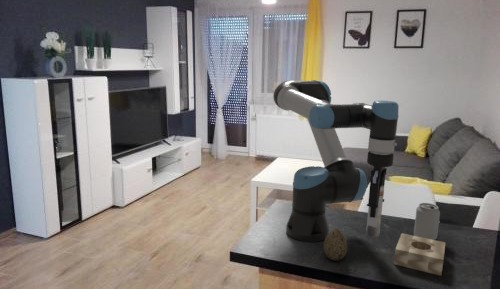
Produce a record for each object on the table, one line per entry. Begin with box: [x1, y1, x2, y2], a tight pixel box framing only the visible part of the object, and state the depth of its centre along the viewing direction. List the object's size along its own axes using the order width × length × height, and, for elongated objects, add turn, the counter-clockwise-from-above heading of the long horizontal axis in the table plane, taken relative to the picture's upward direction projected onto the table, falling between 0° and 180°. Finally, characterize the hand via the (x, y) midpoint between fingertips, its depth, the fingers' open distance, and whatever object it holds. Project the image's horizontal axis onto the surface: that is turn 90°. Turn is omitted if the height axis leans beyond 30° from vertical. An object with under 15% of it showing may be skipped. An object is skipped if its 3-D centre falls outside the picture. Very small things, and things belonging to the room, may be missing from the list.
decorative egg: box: [323, 228, 348, 262], centre depth 119 cm, size 7×7×10 cm
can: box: [413, 202, 441, 240], centre depth 136 cm, size 8×8×12 cm
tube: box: [365, 185, 385, 238], centre depth 123 cm, size 4×4×16 cm
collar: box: [393, 232, 446, 277], centre depth 120 cm, size 13×13×5 cm
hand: (373, 223), depth 124 cm, fingers closed on tube, 4 cm apart
